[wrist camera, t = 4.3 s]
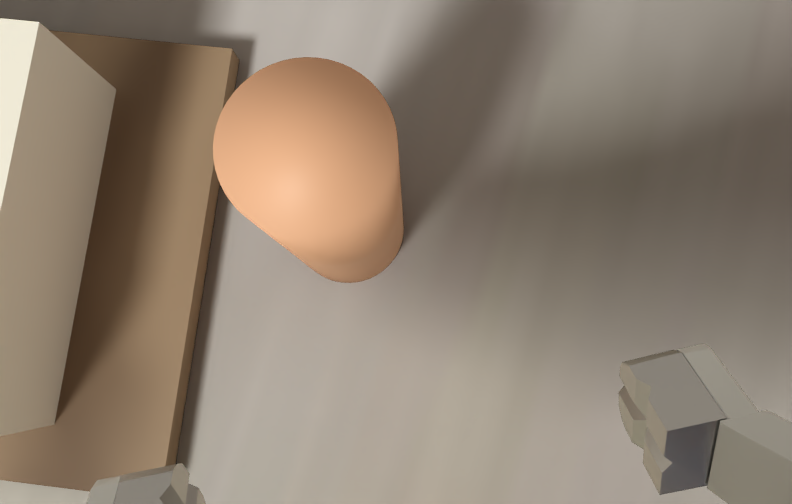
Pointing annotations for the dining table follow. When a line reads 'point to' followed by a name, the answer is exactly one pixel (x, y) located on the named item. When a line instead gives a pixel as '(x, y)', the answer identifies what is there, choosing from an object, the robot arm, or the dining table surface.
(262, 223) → the peg
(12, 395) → the socket block
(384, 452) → the dining table surface
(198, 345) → the dining table surface
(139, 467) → the base board
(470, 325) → the dining table surface
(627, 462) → the dining table surface
